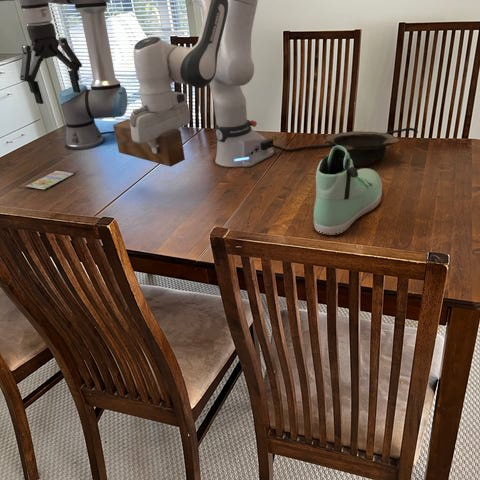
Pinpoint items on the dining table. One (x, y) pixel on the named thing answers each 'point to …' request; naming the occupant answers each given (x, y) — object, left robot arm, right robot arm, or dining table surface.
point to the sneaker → (343, 192)
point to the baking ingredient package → (50, 180)
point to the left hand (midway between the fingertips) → (59, 97)
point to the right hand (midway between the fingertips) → (165, 148)
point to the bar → (167, 145)
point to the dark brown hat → (363, 145)
